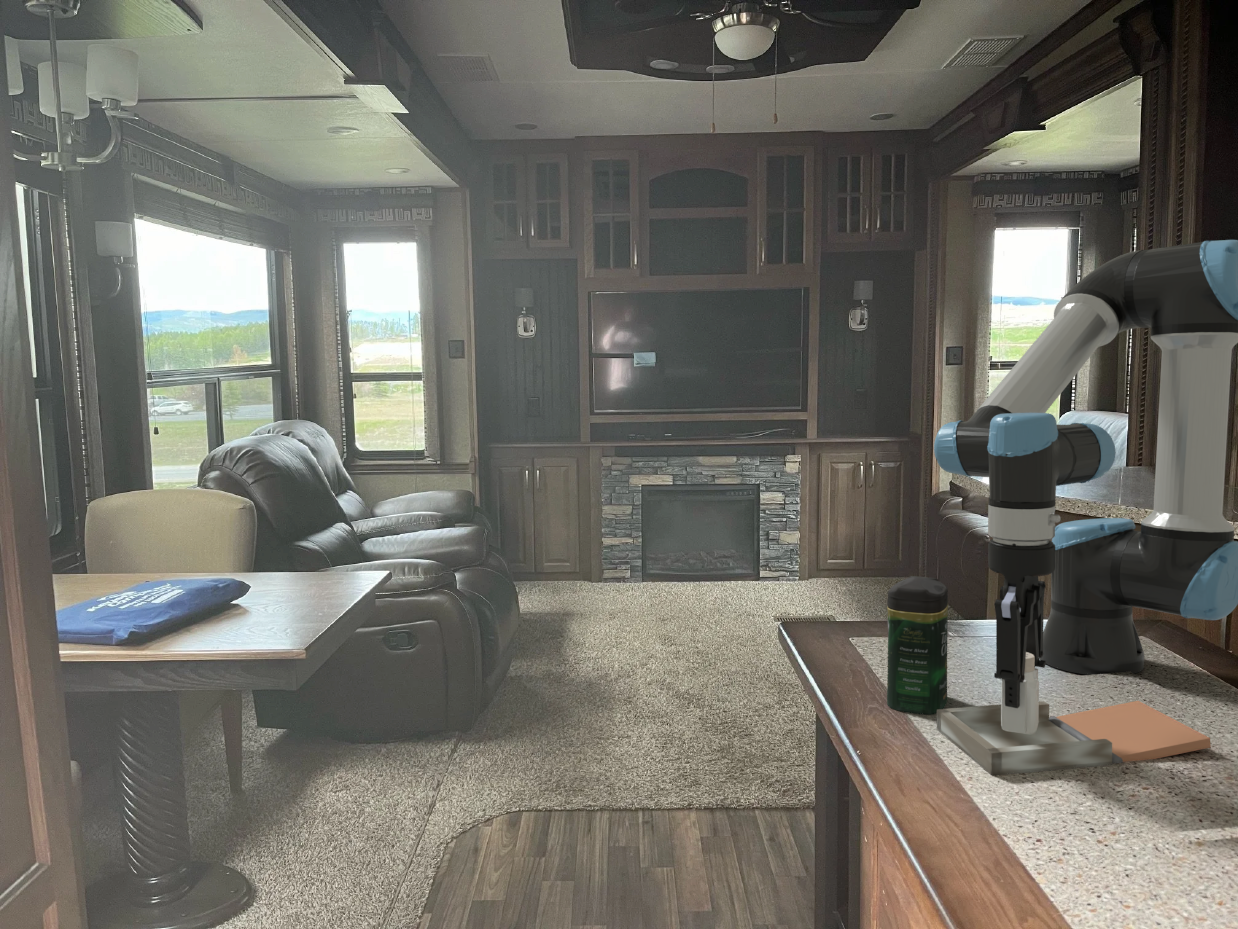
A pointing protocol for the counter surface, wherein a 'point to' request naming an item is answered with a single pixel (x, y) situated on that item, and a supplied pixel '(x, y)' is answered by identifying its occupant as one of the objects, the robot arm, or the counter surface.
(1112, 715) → the panel
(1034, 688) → the pepper shaker
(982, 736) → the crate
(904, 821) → the counter surface
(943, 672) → the coffee jar
